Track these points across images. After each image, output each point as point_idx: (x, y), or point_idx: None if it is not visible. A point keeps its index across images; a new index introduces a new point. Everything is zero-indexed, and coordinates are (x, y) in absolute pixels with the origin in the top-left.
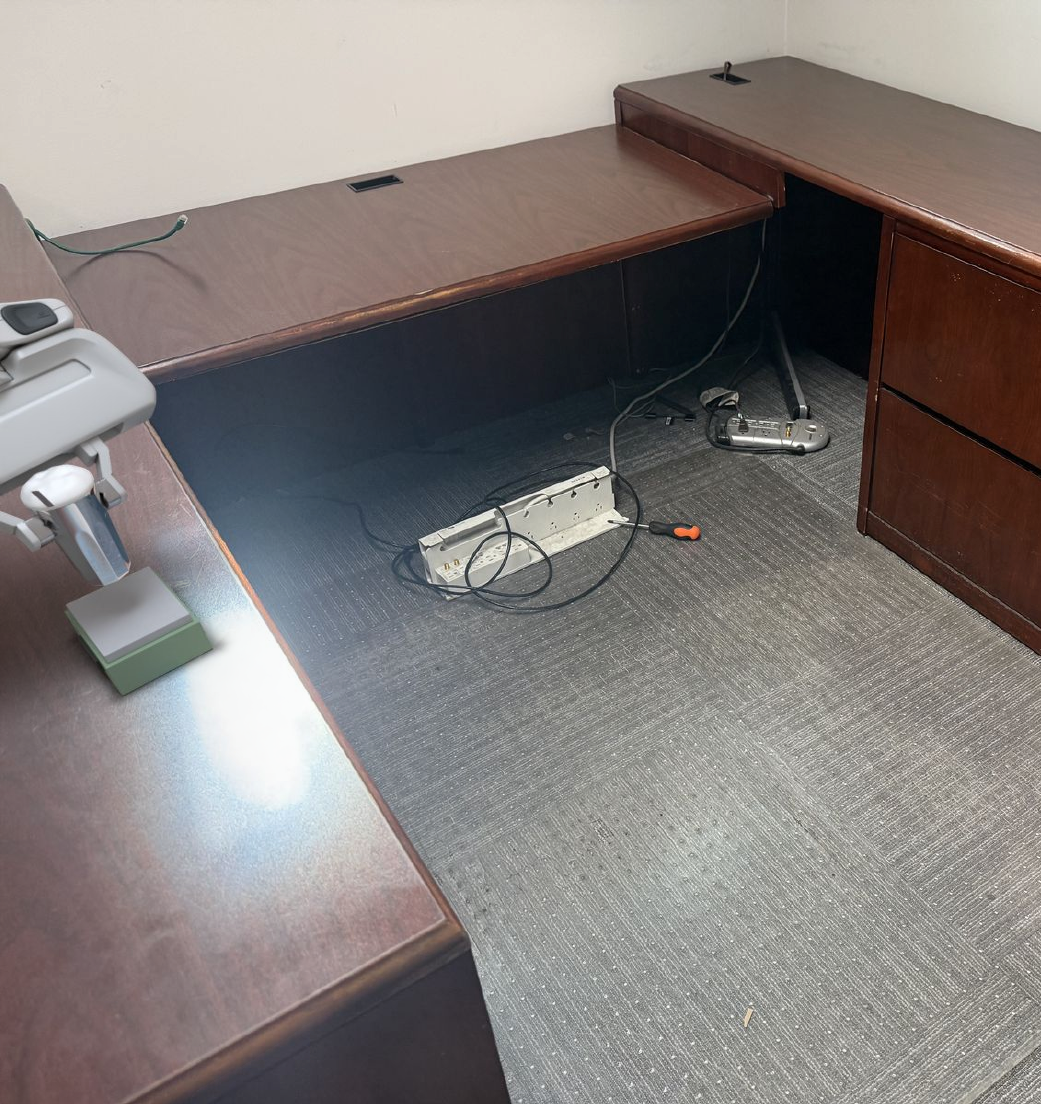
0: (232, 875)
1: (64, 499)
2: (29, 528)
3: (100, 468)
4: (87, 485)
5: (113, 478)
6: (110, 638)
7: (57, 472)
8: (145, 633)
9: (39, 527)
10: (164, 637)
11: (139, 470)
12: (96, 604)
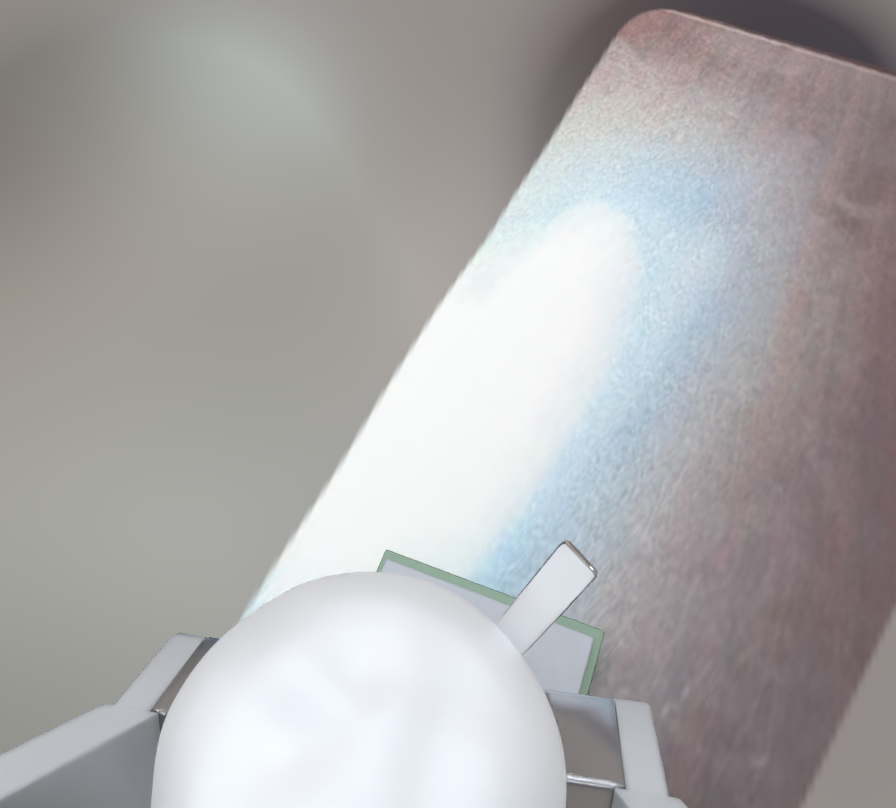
0: (737, 195)
1: (444, 588)
2: (621, 749)
3: (91, 767)
4: (294, 589)
5: (133, 684)
6: (541, 679)
7: (287, 788)
8: (486, 605)
9: (578, 729)
10: (463, 582)
11: None
12: None
